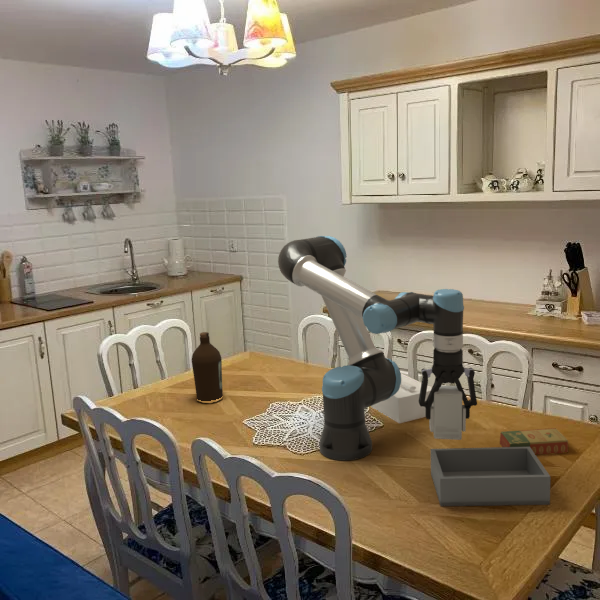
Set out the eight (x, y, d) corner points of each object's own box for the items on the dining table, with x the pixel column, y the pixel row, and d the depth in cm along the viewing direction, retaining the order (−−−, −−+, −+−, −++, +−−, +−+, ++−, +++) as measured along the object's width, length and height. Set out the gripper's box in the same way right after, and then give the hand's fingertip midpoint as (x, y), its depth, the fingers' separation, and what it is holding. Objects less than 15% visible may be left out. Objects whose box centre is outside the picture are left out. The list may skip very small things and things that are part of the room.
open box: (440, 506, 145) (440, 478, 144) (430, 473, 161) (430, 448, 159) (549, 504, 143) (550, 476, 142) (529, 471, 159) (529, 446, 157)
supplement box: (462, 440, 163) (462, 395, 160) (433, 439, 164) (433, 394, 162) (460, 428, 170) (461, 385, 167) (433, 427, 171) (433, 384, 169)
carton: (568, 454, 168) (568, 439, 167) (509, 457, 168) (509, 443, 167) (555, 441, 176) (556, 427, 175) (499, 444, 176) (499, 430, 175)
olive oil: (196, 406, 219) (189, 338, 214) (194, 396, 229) (188, 331, 224) (226, 402, 221) (220, 334, 216) (223, 393, 231) (217, 328, 226)
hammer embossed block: (393, 392, 222) (392, 363, 220) (436, 414, 200) (436, 382, 198) (358, 400, 216) (357, 370, 214) (399, 424, 194) (398, 391, 192)
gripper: (409, 353, 159) (410, 435, 164) (491, 351, 158) (489, 435, 162) (406, 345, 166) (407, 424, 171) (484, 343, 165) (482, 423, 170)
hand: (447, 429), depth 167 cm, fingers closed on supplement box, 8 cm apart
